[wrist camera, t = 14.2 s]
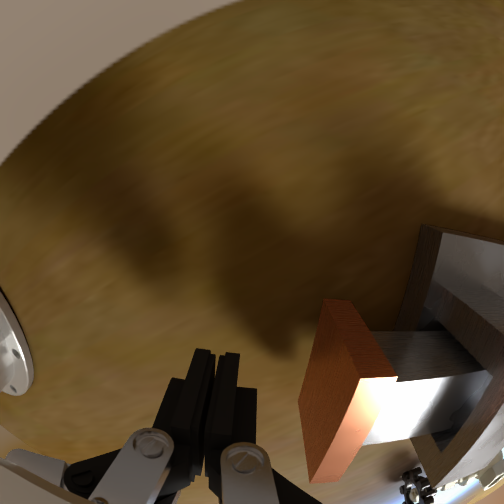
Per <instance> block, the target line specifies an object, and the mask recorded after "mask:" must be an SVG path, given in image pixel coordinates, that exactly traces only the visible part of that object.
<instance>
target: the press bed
mask: <svg viewBox="0 0 504 504" xmlns="http://www.w3.org/2000/svg"><path fill="white" fill-rule="evenodd" d="M394 331H449V332H450V333H451V334H452V335H453V336H454V337H455V338H456V339H457V340H458V341H459V342H460V343H461V344H462V345H463V346H464V347H465V348H466V349H467V350H468V351H469V352H470V353H471V354H472V355H473V356H474V358H475V359H476V360H477V361H478V362H479V363H480V364H481V365H482V366H483V367H484V368H485V369H486V370H487V372H488V373H489V374H490V375H491V376H492V377H493V378H492V380H491V382H490V384H489V385H488V387H487V389H486V390H485V392H484V394H483V395H482V397H481V399H480V400H479V402H478V404H477V405H476V407H475V408H474V410H473V411H472V413H471V414H470V416H469V417H468V419H467V420H466V422H465V423H464V425H460V426H457V427H454V428H450V429H446V430H443V431H439V432H435V433H430V434H426V435H422V436H417V437H412V438H410V440H411V442H412V444H413V446H414V448H415V451H416V453H417V455H418V457H419V459H420V462H421V464H422V466H423V468H424V471H425V473H426V475H427V478H428V480H429V482H430V485H431V487H432V489H435V488H438V487H441V486H443V485H446V484H449V483H451V482H454V481H456V480H459V479H461V478H463V477H466V476H468V475H470V474H472V473H475V472H477V471H479V470H481V469H483V468H485V467H486V466H487V465H488V464H489V463H490V462H491V461H492V460H493V458H494V457H495V456H496V455H497V454H498V453H499V452H500V450H501V449H502V448H503V447H504V241H500V240H496V239H492V238H487V237H483V236H479V235H474V234H470V233H465V232H460V231H456V230H451V229H446V228H441V227H436V226H431V225H426V224H422V225H421V230H420V235H419V240H418V245H417V249H416V254H415V258H414V262H413V266H412V270H411V274H410V278H409V282H408V286H407V289H406V293H405V296H404V300H403V303H402V306H401V310H400V313H399V316H398V319H397V322H396V325H395V328H394Z"/></svg>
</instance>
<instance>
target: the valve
mask: <svg viewBox="0 0 504 504" xmlns="http://www.w3.org/2000/svg"><path fill="white" fill-rule="evenodd" d="M420 473H422V470H421V468H420V467H417V468H415V469H412V470H410V471H408V472H405V473H403V475H402V479H403V481H404V482H405V485H403V486H401V487H400V493H401V494H404V497H405V501H404V502H403V503H402V504H414V503H413V502H418V501H419V503H417V504H433V503H434V498H433V496H435V495H436V493H437V490H439V489H440V490H441V491H444V490H447V489H449V488H451V487H453V486H455V483H458V484H459V485H461V486H464V485H466V484H468V483H470V482H472V481H473V479H474V478H477V479H479V483H480V485H481V486H482V488H483V490H487V489H488V488H490V487H492V486H493V485H494V484H496V483H497V482H498V481H500V480H501V479H502V478H503V477H504V459H503V454H502V451H501V450H500V452H499V453H498V454H497V455H496V456H495V457H494V458H493V460H492V461H491V462H490V463H489V464H488V465H487V466H486V467H485V468H483V469H481V470H479V471H477V472H475V473H472V474H470V475H468V476H466V477H463V478H461V479H459V480H456V481H454V482H451V483H449V484H446V485H443V486H441V487H438V488H435V489H432V487H431V485H430V482H429V480H428V478H427V477H426V478H424V477H422V476H418V474H420ZM412 483H413V484H414V485H415V486H416V488H413V489H411V486H412Z"/></svg>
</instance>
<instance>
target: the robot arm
mask: <svg viewBox="0 0 504 504" xmlns="http://www.w3.org/2000/svg"><path fill="white" fill-rule="evenodd" d="M215 359H216V355H215V354H211V351H210V350H205V349H198V348H196V350H195V352H194V355H193V358H192V361H191V364H190V367H189V370H188V373H187V376H186V379H185V380H184V379H178V378H172V379H171V380H170V383H169V385H168V388H167V390H166V393H165V395H164V398H163V401H162V403H161V406H160V408H159V411H158V414H157V416H156V419H155V421H154V424H153V427H152V428H143V429H139V430H137V431H136V432H134V433H133V434H132V435H131V436H130V437H129V439H128V440H127V442H126V443H125V445H124V446H123V448H121V449H118V450H115V451H112V452H109V453H106V454H103V455H100V456H97V457H93V458H90V459H87V460H83V461H80V462H76V463H74V464H67V463H66V462H65V461H63V460H59V459H55V458H51V457H47V456H43V455H40V454H36V453H33V452H29V451H26V450H23V449H14V450H12V451H10V452H9V453H8V454H7V456H6V459H3V458H0V504H176V503H177V500H178V498H179V496H180V494H181V489H183V488H185V487H187V486H189V485H190V483H191V482H194V479H195V475H199V476H201V472H202V466H203V461H204V455H205V476H206V477H209V489H210V490H211V491H212V492H213V493H214V494H215V495H216V496H218V501H219V504H322V503H321V502H319V501H318V500H316V499H315V498H313V497H312V496H310V495H309V494H307V493H306V492H304V491H303V490H301V489H300V488H298V487H297V486H296V485H294V484H293V483H291V482H290V481H289V480H287V479H286V478H284V477H283V476H282V475H280V474H279V473H278V472H276V471H275V470H274V469H272V468H271V464H270V459H269V456H268V454H267V452H266V451H265V450H264V449H263V448H261V447H260V446H258V445H256V412H257V389H255V388H244V387H237V378H238V368H239V359H240V354H238V353H229V352H226V354H225V356H223V355H220V356H219V361H218V366H217V371H216V376H215ZM33 376H34V370H33V363H32V358H31V355H30V351H29V348H28V345H27V342H26V340H25V337H24V334H23V332H22V330H21V328H20V326H19V324H18V321H17V319H16V317H15V315H14V314H13V312H12V310H11V308H10V306H9V304H8V303H7V301H6V299H5V298H4V296H3V295H2V293H1V292H0V392H1V391H3V392H5V393H7V394H11V395H15V396H16V395H22V394H24V393H25V392H26V391H27V390H28V389H29V387H30V386H31V385H32V382H33Z"/></svg>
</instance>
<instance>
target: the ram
mask: <svg viewBox="0 0 504 504" xmlns="http://www.w3.org/2000/svg"><path fill="white" fill-rule="evenodd" d="M492 378H493V377H492V376H491V375H490V374H489V373H488V372H487V370H486V369H485V368H484V367H483V366H482V365H481V364H480V363H479V362H478V361H477V360H476V359H475V358H474V356H473V355H472V354H471V353H470V352H469V351H468V350H467V349H466V348H465V347H464V346H463V345H462V344H461V343H460V342H459V341H458V340H457V339H456V338H455V337H454V336H453V335H452V334H451V333H450V332H449V331H370V330H369V329H368V327H367V326H366V324H365V323H364V321H363V319H362V318H361V316H360V315H359V313H358V312H357V310H356V309H355V307H354V305H353V304H352V302H351V301H350V300H337V299H323V304H322V309H321V313H320V318H319V322H318V326H317V331H316V335H315V339H314V343H313V347H312V351H311V355H310V359H309V363H308V367H307V370H306V374H305V378H304V381H303V385H302V389H301V392H300V396H299V399H298V405H299V412H300V418H301V425H302V432H303V439H304V446H305V453H306V460H307V468H308V475H309V483H325V482H337V481H339V479H340V478H341V476H342V475H343V473H344V472H345V471H346V469H347V468H348V466H349V465H350V463H351V462H352V460H353V458H354V457H355V455H356V454H357V452H358V451H359V449H360V447H361V446H362V445H368V444H376V443H383V442H390V441H396V440H402V439H407V438H412V437H417V436H422V435H426V434H430V433H435V432H439V431H443V430H446V429H450V428H454V427H457V426H460V425H464V423H465V422H466V420H467V419H468V417H469V416H470V414H471V413H472V411H473V410H474V408H475V407H476V405H477V404H478V402H479V400H480V399H481V397H482V395H483V394H484V392H485V390H486V389H487V387H488V385H489V384H490V382H491V380H492Z"/></svg>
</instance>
